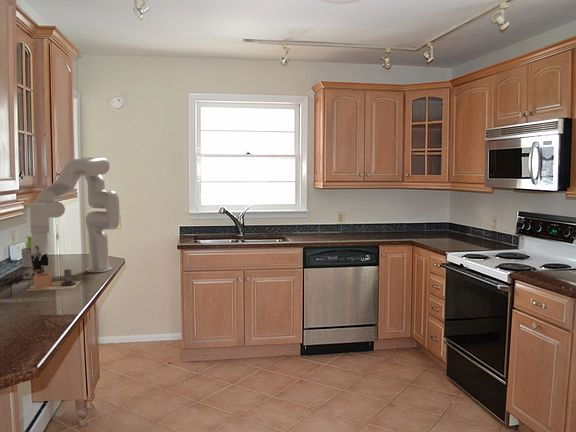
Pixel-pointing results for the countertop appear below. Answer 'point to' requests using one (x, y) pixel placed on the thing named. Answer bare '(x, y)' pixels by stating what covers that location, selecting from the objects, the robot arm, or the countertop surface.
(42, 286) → the collar
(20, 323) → the countertop surface
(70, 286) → the post board
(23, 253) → the coffee box
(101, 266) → the robot arm
